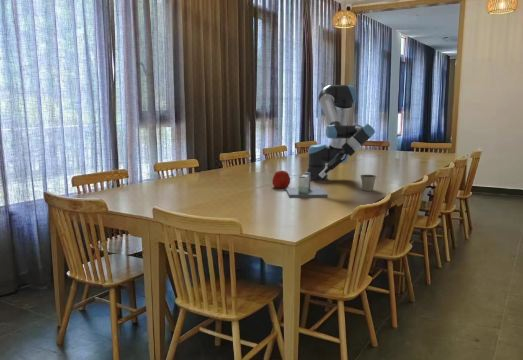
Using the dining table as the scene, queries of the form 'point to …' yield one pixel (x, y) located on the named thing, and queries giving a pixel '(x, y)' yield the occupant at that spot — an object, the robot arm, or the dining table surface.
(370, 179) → the flower pot
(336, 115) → the robot arm
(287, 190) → the dial plate
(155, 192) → the dining table surface
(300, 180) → the white slab
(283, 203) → the dining table surface
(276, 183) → the apple
